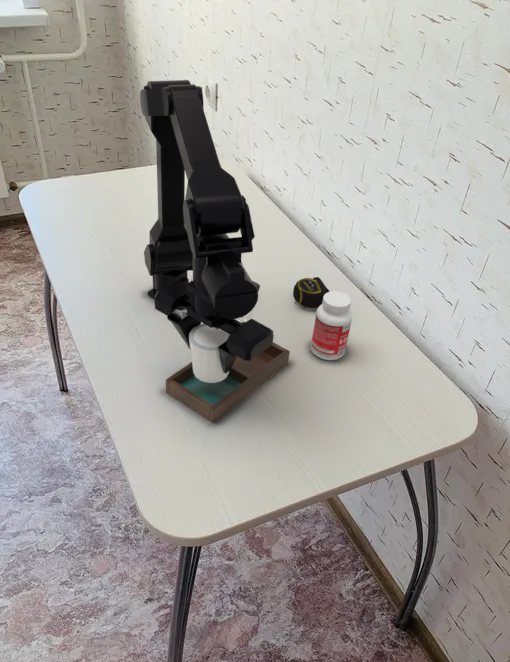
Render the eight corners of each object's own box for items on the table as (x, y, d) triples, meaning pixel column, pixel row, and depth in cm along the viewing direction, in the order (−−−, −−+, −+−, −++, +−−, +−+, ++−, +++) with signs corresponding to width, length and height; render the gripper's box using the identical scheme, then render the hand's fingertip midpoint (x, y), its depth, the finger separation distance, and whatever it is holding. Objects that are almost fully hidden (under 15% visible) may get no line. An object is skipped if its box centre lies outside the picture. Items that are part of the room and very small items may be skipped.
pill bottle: (341, 365, 107) (352, 312, 100) (306, 356, 108) (315, 304, 101) (347, 344, 112) (358, 293, 104) (314, 336, 113) (323, 285, 105)
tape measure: (332, 309, 120) (335, 293, 117) (299, 314, 118) (302, 297, 115) (319, 290, 124) (321, 274, 122) (287, 294, 122) (289, 278, 120)
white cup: (216, 391, 94) (217, 356, 89) (180, 374, 96) (179, 338, 92) (241, 367, 98) (243, 332, 94) (205, 351, 101) (206, 316, 96)
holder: (165, 392, 99) (165, 379, 97) (243, 338, 111) (244, 326, 109) (213, 423, 95) (213, 410, 93) (288, 363, 106) (289, 351, 105)
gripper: (301, 280, 86) (290, 364, 97) (202, 232, 94) (201, 315, 105) (251, 313, 80) (244, 401, 90) (149, 259, 88) (154, 345, 98)
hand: (211, 362), depth 96 cm, fingers closed on white cup, 6 cm apart
